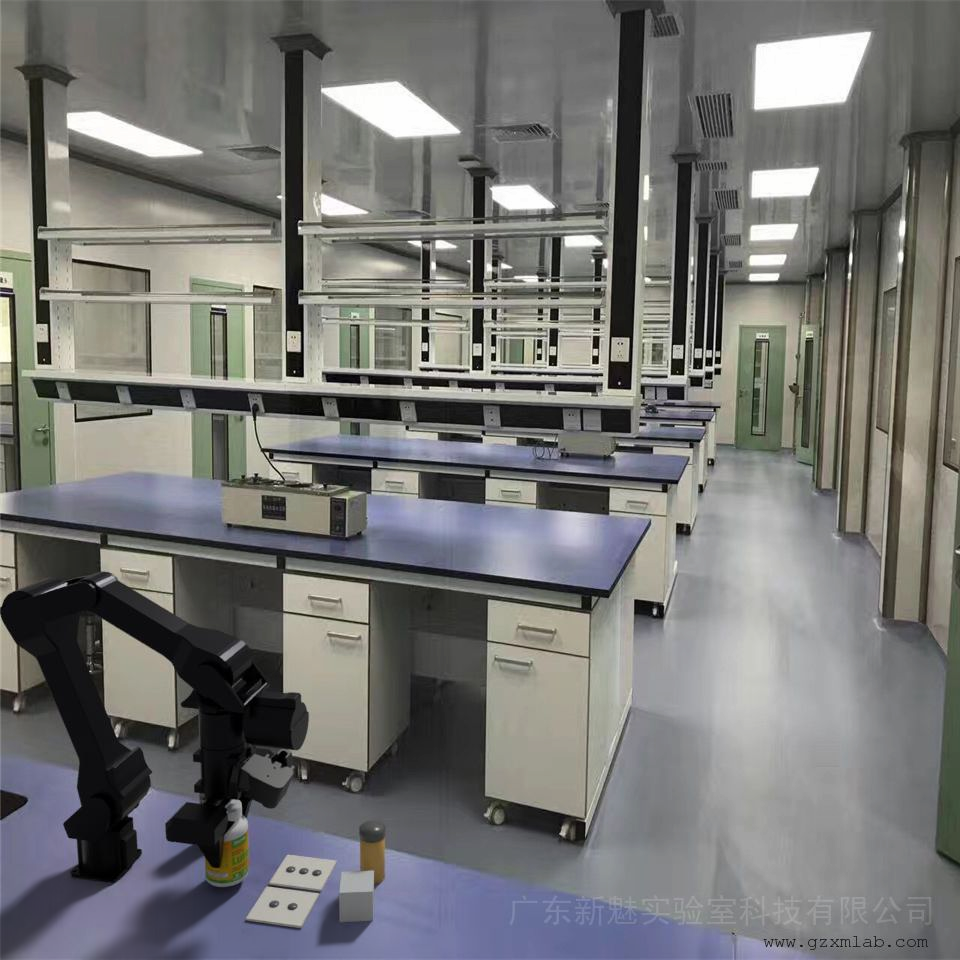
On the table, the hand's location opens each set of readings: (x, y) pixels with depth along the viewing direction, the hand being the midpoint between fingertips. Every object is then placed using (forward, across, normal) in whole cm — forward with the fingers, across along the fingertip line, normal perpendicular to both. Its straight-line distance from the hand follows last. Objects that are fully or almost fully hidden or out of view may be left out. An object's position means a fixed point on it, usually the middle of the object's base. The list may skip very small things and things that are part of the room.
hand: (226, 853), depth 107 cm
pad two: (+4, -3, -9) cm, 10 cm away
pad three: (+4, +3, -9) cm, 10 cm away
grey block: (+4, -2, -18) cm, 19 cm away
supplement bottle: (+3, 0, 0) cm, 3 cm away
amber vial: (+4, +4, -18) cm, 19 cm away
